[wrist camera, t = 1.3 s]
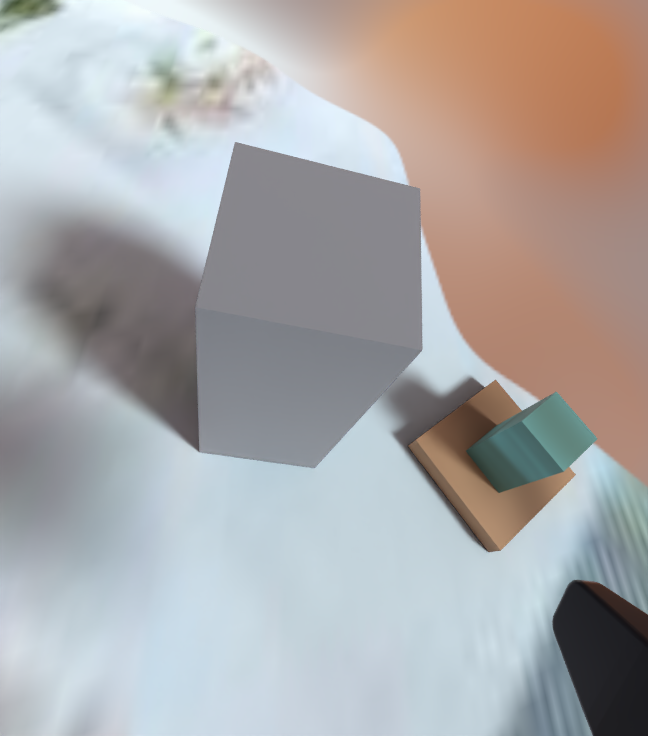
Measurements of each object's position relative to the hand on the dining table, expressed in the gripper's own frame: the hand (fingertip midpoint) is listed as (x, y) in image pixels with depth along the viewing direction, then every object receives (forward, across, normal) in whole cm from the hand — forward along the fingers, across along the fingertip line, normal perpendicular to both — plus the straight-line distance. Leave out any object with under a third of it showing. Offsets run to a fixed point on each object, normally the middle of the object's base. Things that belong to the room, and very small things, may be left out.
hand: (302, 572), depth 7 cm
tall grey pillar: (+15, 0, +4) cm, 15 cm away
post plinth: (+14, -11, +5) cm, 19 cm away
